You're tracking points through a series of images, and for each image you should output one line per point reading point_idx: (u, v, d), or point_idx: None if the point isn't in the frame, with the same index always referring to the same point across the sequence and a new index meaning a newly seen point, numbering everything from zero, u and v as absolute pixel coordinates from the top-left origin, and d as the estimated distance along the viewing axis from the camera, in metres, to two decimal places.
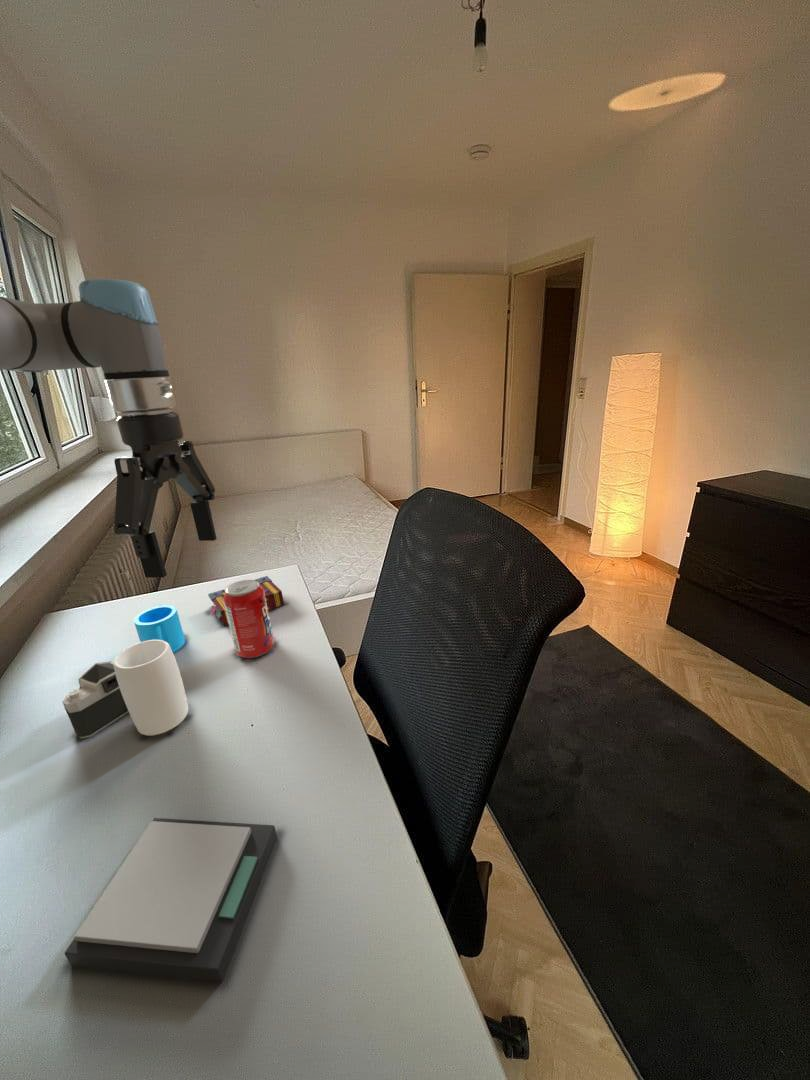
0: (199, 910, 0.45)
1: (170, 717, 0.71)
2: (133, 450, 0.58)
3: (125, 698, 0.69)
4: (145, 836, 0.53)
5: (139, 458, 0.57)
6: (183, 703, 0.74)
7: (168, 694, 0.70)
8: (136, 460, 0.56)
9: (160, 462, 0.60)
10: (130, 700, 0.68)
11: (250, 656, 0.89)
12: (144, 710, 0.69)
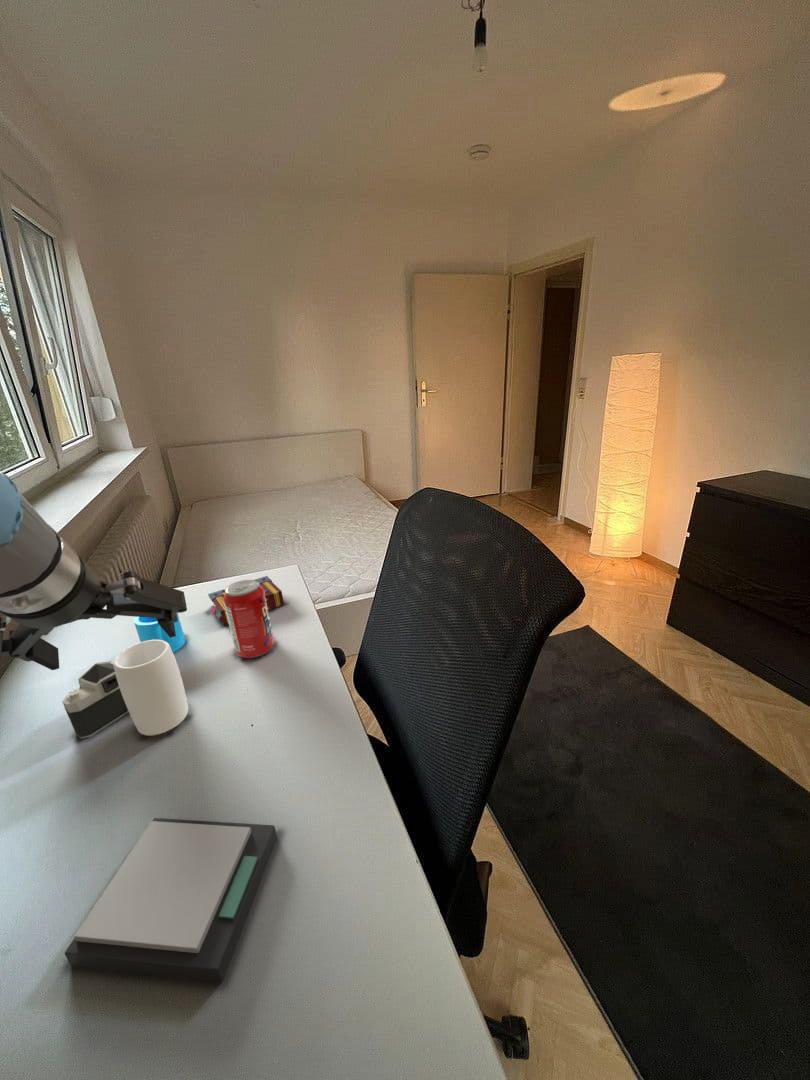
0: (199, 910, 0.45)
1: (170, 717, 0.71)
2: None
3: (125, 698, 0.69)
4: (145, 836, 0.53)
5: None
6: (183, 703, 0.74)
7: (168, 694, 0.70)
8: None
9: None
10: (130, 700, 0.68)
11: (250, 656, 0.89)
12: (144, 710, 0.69)
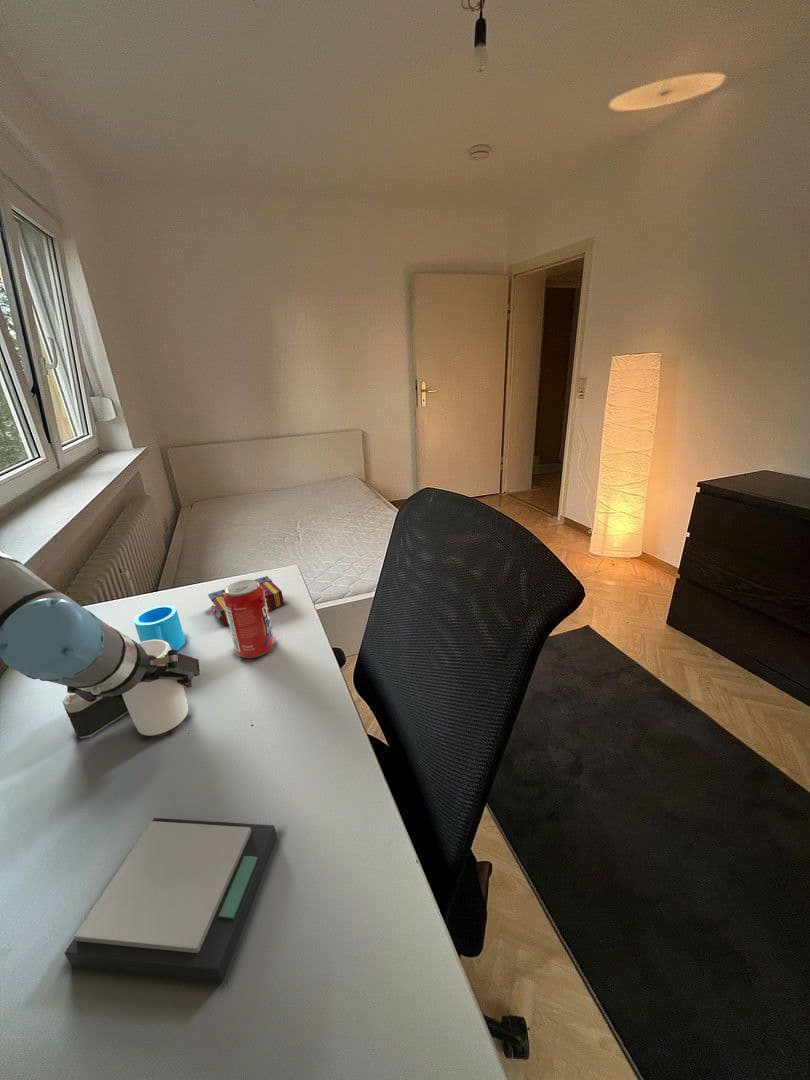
0: (199, 910, 0.45)
1: (170, 717, 0.71)
2: None
3: (125, 698, 0.69)
4: (145, 836, 0.53)
5: None
6: (183, 703, 0.74)
7: (168, 694, 0.70)
8: (73, 691, 0.59)
9: None
10: (130, 700, 0.68)
11: (250, 656, 0.89)
12: (144, 710, 0.69)
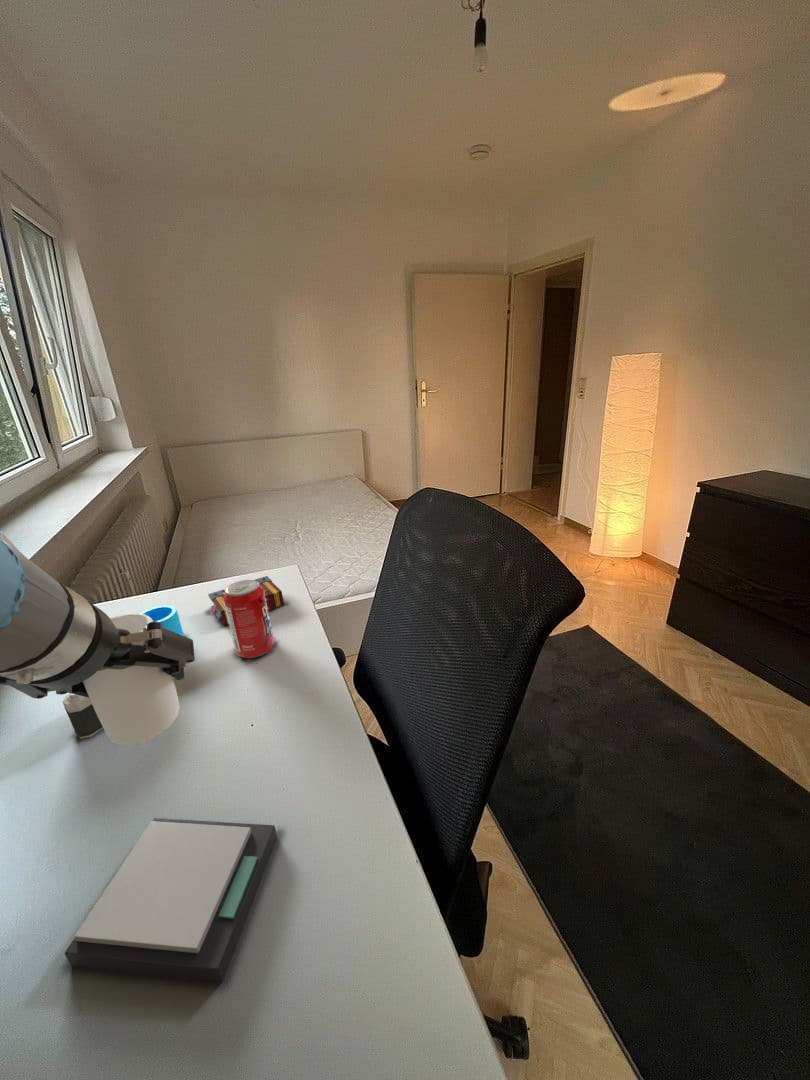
0: (199, 910, 0.45)
1: (154, 720, 0.51)
2: None
3: (89, 693, 0.49)
4: (145, 836, 0.53)
5: None
6: (172, 700, 0.54)
7: (150, 688, 0.50)
8: (3, 681, 0.39)
9: None
10: (96, 696, 0.48)
11: (250, 656, 0.89)
12: (116, 710, 0.49)
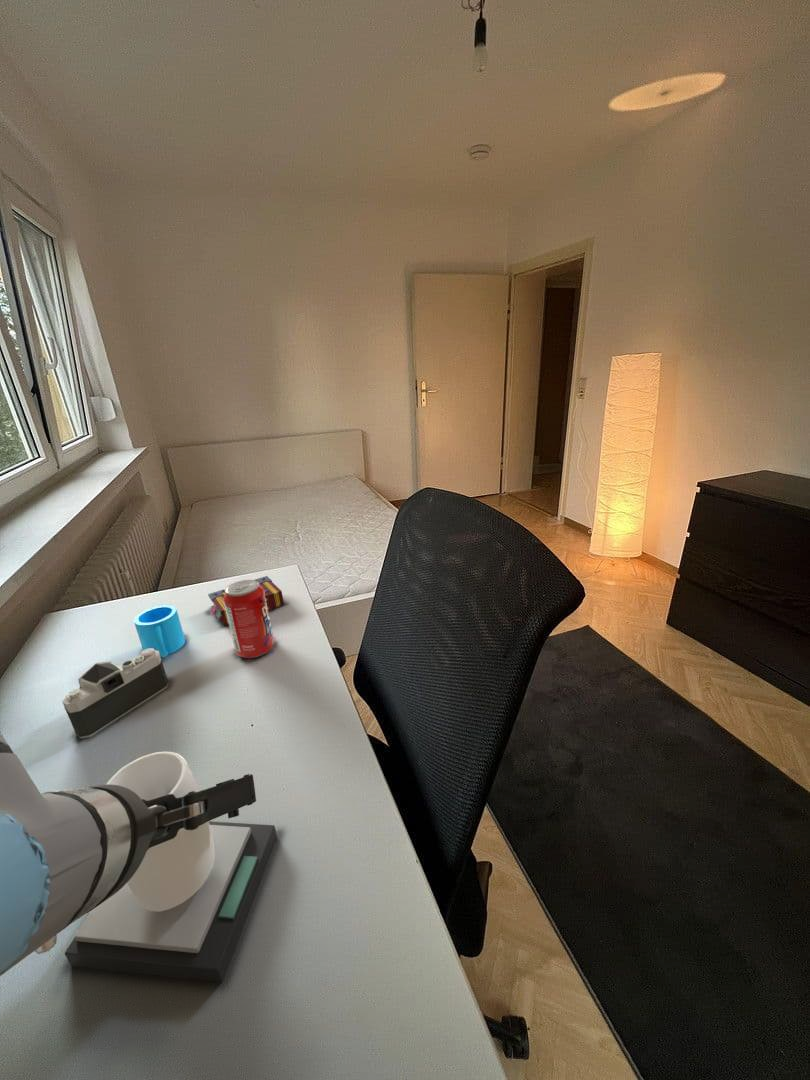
0: (199, 910, 0.45)
1: (189, 881, 0.45)
2: None
3: None
4: None
5: None
6: (209, 850, 0.47)
7: (186, 848, 0.43)
8: None
9: None
10: None
11: (250, 656, 0.89)
12: (147, 879, 0.42)
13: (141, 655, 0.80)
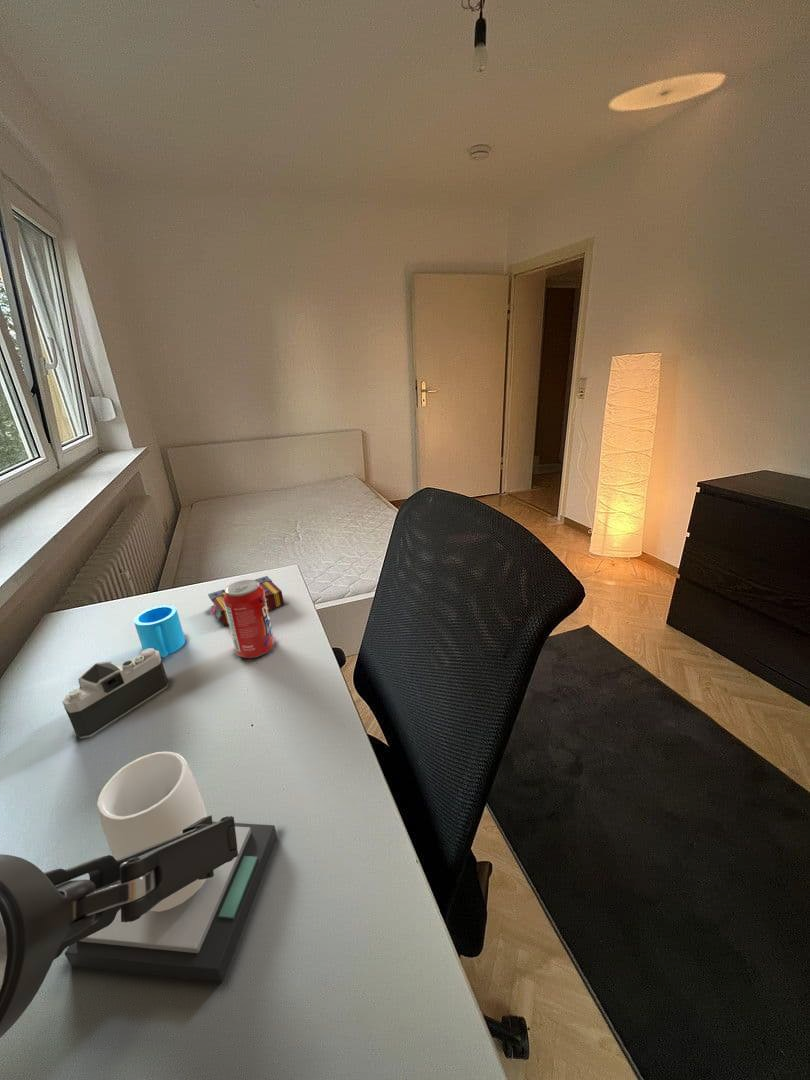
0: (199, 910, 0.45)
1: None
2: None
3: None
4: None
5: None
6: None
7: None
8: None
9: None
10: None
11: (250, 656, 0.89)
12: None
13: (141, 655, 0.80)
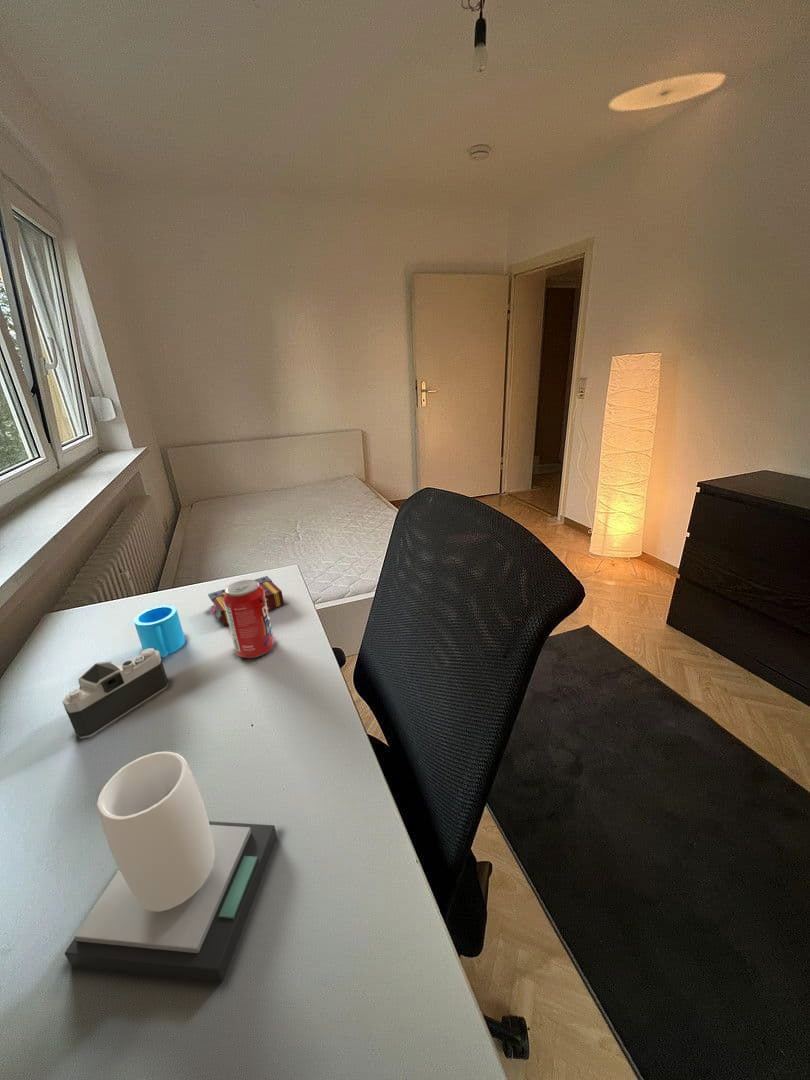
0: (199, 910, 0.45)
1: (189, 881, 0.45)
2: None
3: (116, 860, 0.42)
4: None
5: None
6: (209, 850, 0.47)
7: (186, 848, 0.43)
8: None
9: None
10: (124, 864, 0.41)
11: (250, 656, 0.89)
12: (147, 879, 0.42)
13: (141, 655, 0.80)
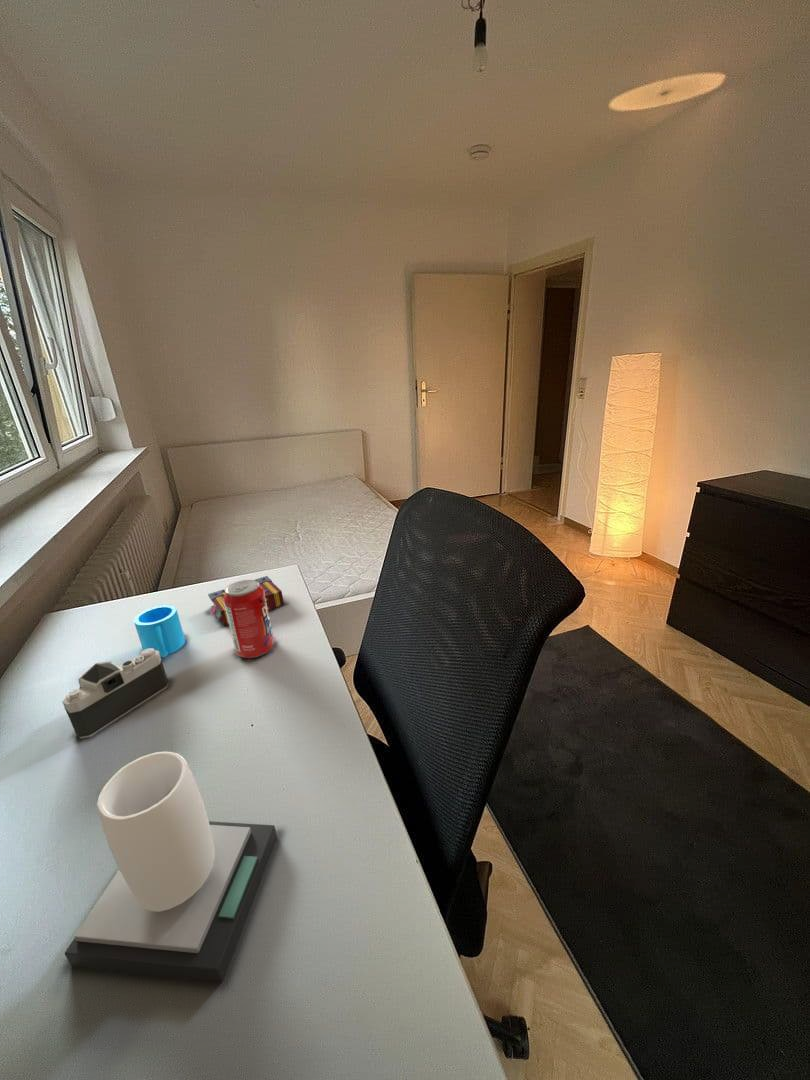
0: (199, 910, 0.45)
1: (189, 881, 0.45)
2: None
3: (116, 860, 0.42)
4: None
5: None
6: (209, 850, 0.47)
7: (186, 848, 0.43)
8: None
9: None
10: (124, 864, 0.41)
11: (250, 656, 0.89)
12: (147, 879, 0.42)
13: (141, 655, 0.80)
